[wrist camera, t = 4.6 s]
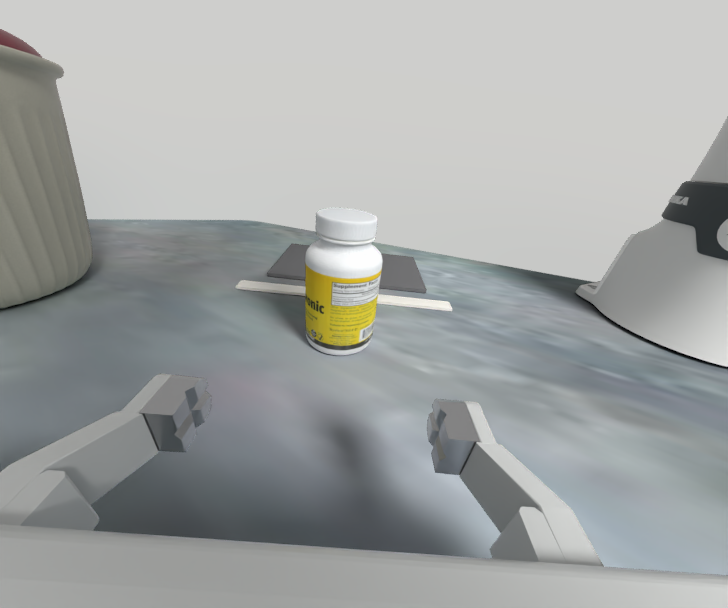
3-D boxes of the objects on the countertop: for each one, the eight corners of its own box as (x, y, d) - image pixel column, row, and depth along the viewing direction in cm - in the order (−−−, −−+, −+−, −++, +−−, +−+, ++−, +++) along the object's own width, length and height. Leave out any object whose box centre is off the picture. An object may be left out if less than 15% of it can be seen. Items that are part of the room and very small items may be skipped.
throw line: (447, 304, 30) (448, 301, 29) (451, 311, 28) (452, 308, 28) (242, 282, 29) (241, 279, 29) (235, 288, 27) (235, 286, 27)
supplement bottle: (302, 320, 24) (302, 202, 19) (362, 317, 25) (375, 207, 21) (308, 361, 19) (309, 222, 15) (379, 355, 21) (402, 226, 16)
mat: (412, 259, 41) (413, 257, 41) (425, 293, 31) (426, 289, 31) (292, 246, 40) (291, 243, 40) (267, 276, 31) (267, 272, 31)
